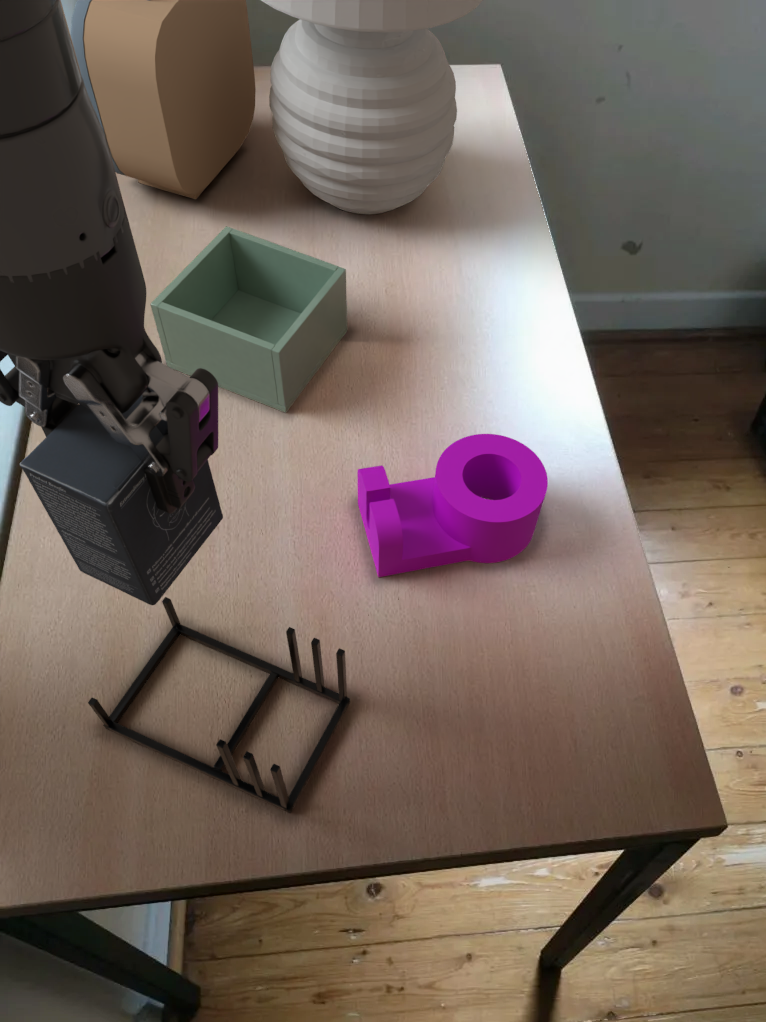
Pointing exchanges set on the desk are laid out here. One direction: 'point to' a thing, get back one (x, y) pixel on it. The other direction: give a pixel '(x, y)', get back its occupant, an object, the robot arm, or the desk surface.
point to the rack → (229, 748)
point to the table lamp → (365, 98)
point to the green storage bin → (253, 317)
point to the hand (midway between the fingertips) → (128, 480)
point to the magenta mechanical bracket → (455, 507)
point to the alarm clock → (168, 85)
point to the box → (117, 507)
